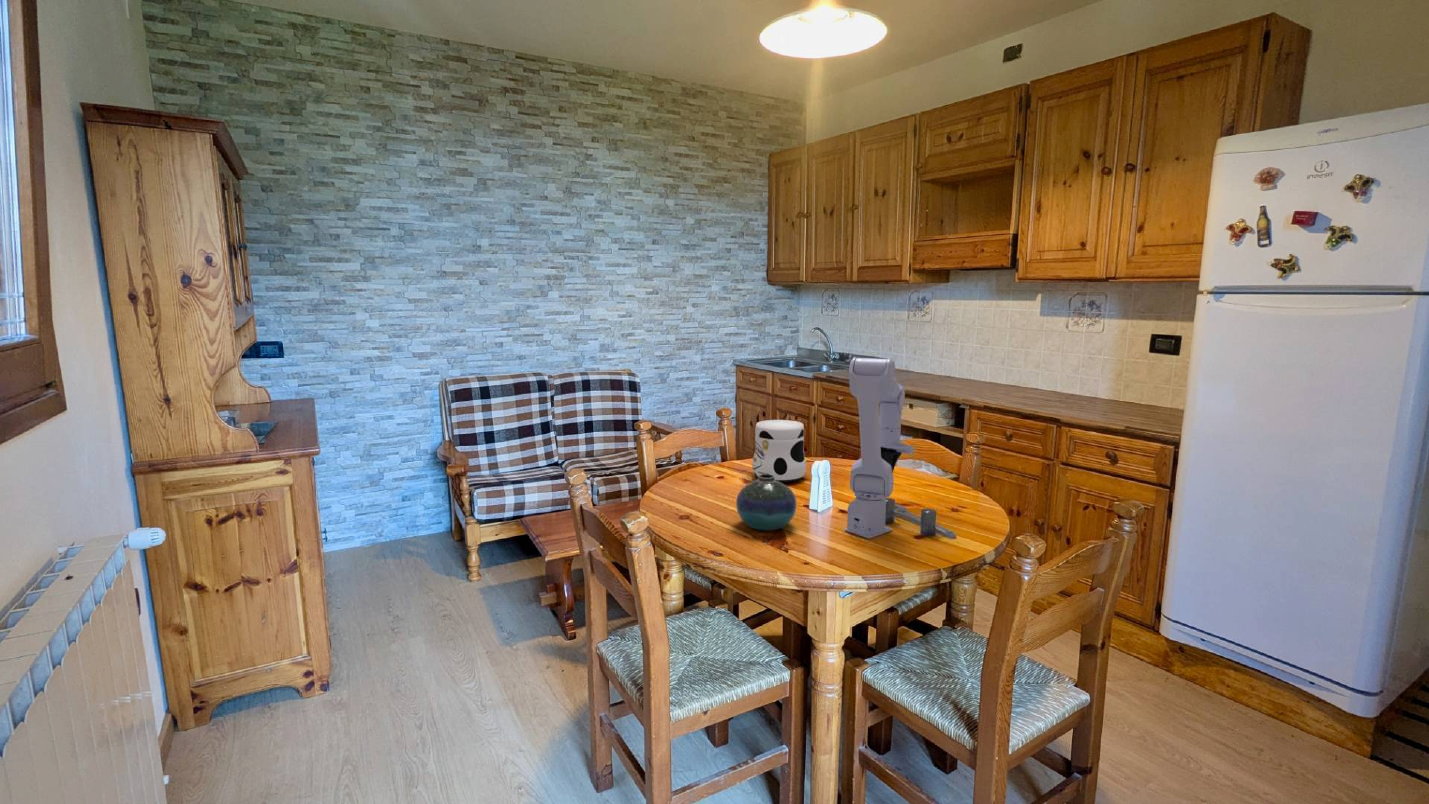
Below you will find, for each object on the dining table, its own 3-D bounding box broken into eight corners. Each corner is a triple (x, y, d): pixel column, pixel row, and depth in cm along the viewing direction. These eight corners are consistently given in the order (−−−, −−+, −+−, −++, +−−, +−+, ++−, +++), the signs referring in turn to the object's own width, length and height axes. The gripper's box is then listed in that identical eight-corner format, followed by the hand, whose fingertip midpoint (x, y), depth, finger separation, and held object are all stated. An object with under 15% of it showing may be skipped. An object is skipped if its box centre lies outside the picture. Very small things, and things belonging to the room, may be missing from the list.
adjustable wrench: (958, 539, 163) (958, 532, 163) (936, 543, 161) (936, 536, 161) (898, 508, 187) (898, 502, 186) (878, 511, 184) (878, 505, 184)
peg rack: (929, 537, 163) (931, 514, 162) (877, 521, 175) (878, 499, 174) (938, 534, 165) (939, 511, 164) (885, 518, 177) (886, 496, 176)
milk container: (741, 478, 217) (741, 423, 214) (777, 469, 228) (777, 417, 226) (781, 489, 204) (782, 431, 202) (816, 479, 216) (818, 424, 213)
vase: (803, 535, 165) (804, 482, 163) (742, 538, 163) (743, 485, 161) (787, 515, 180) (787, 467, 178) (731, 518, 178) (731, 469, 176)
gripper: (921, 429, 179) (919, 478, 181) (877, 421, 190) (875, 467, 192) (906, 432, 175) (904, 482, 177) (861, 424, 186) (859, 471, 188)
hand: (888, 475), depth 184 cm, fingers closed
